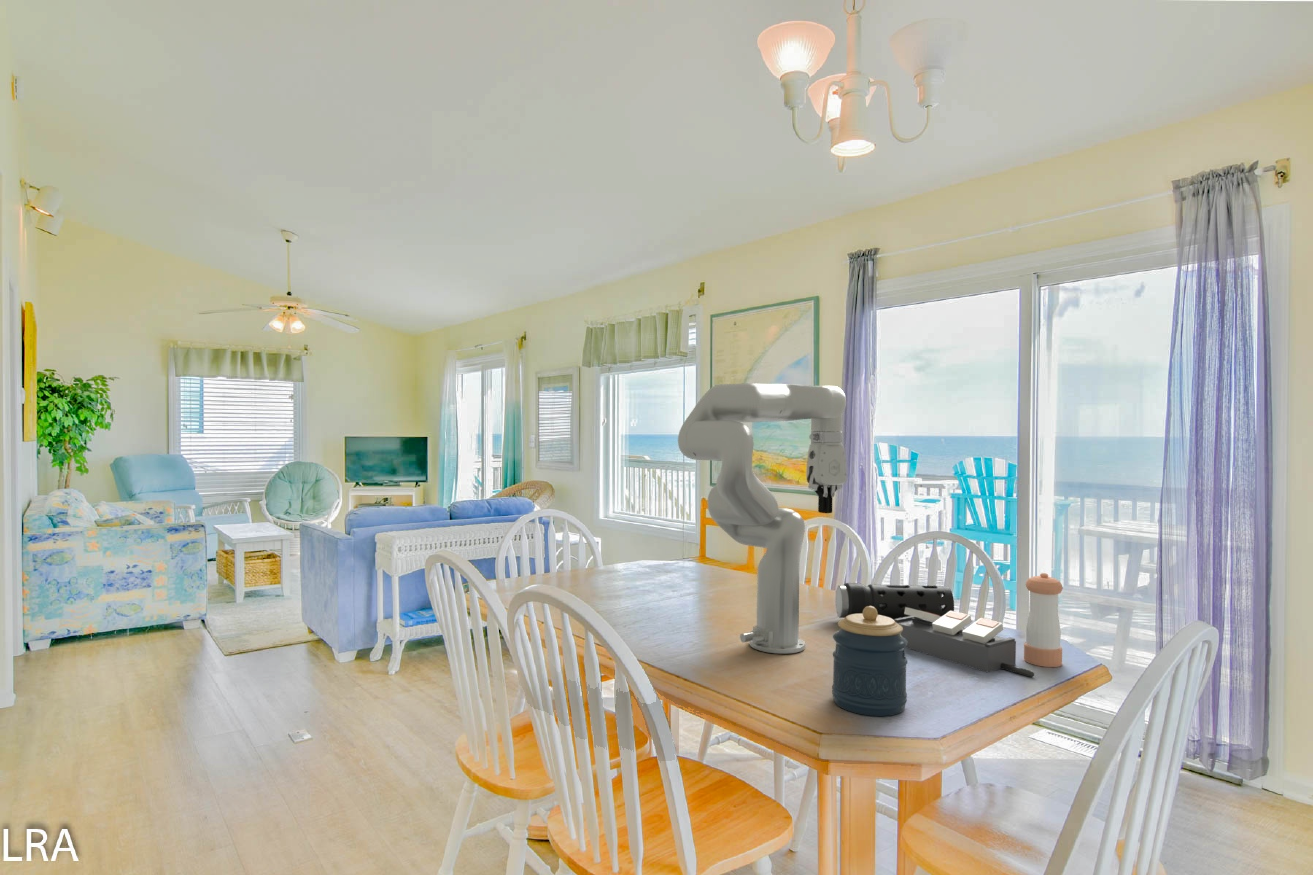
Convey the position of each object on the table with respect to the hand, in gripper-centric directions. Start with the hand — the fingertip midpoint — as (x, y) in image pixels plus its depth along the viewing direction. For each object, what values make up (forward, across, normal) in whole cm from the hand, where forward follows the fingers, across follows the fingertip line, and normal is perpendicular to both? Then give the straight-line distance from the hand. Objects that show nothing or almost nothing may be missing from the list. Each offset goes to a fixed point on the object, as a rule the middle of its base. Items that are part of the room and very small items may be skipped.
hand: (825, 512), depth 181 cm
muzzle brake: (+30, +20, -5) cm, 36 cm away
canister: (+29, -30, -40) cm, 58 cm away
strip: (+29, +10, -32) cm, 45 cm away
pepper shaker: (+29, +22, -43) cm, 56 cm away
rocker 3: (+22, +10, -36) cm, 44 cm away
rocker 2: (+22, +10, -29) cm, 38 cm away
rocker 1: (+22, +10, -22) cm, 32 cm away
